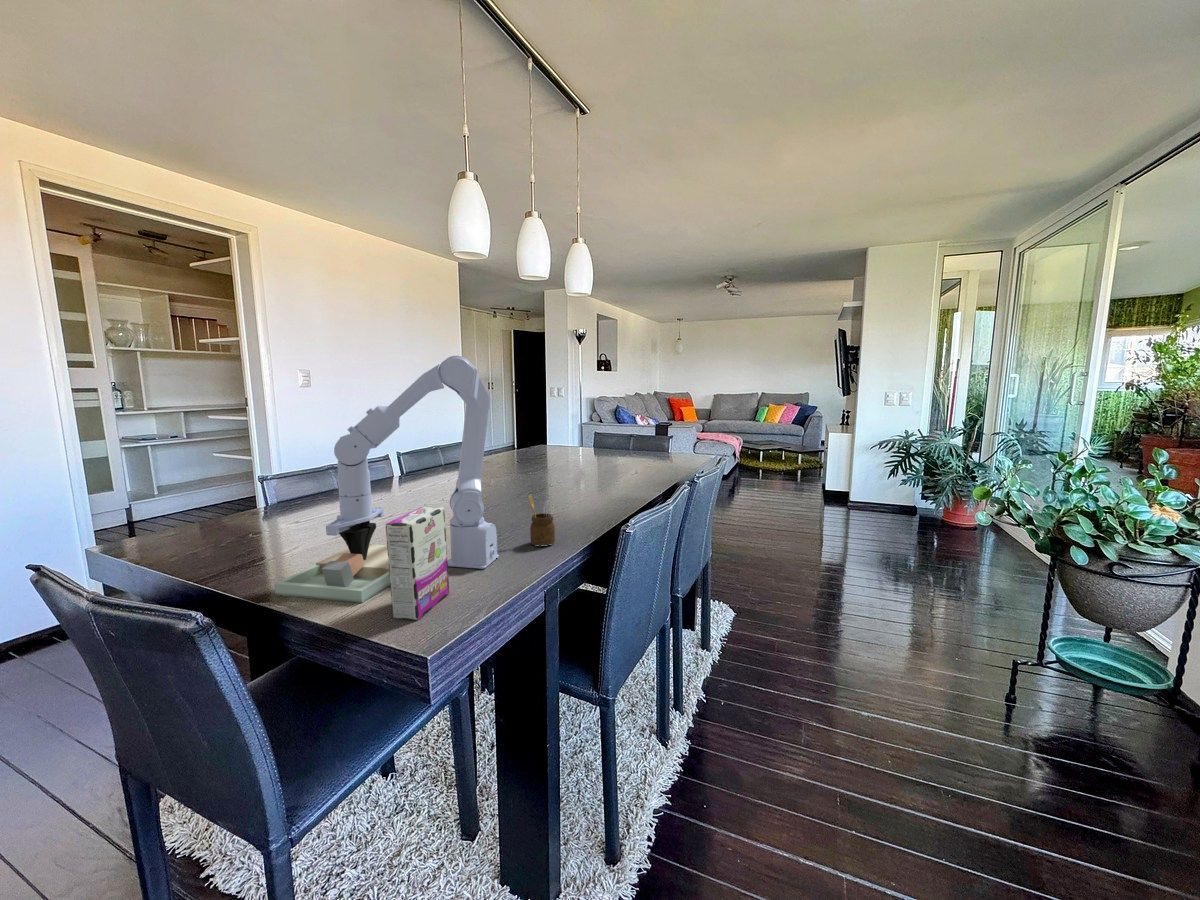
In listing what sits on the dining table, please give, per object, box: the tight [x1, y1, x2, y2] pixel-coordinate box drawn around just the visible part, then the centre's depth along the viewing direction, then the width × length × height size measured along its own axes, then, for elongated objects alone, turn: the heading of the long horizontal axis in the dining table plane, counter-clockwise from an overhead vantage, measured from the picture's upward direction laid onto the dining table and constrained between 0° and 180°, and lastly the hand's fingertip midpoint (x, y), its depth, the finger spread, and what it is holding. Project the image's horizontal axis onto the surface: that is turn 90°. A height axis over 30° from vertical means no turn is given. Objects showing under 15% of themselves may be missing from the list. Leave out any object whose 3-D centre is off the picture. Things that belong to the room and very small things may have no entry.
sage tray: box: [274, 564, 390, 604], centre depth 93 cm, size 18×10×2 cm, turn 79°
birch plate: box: [315, 543, 389, 578], centre depth 105 cm, size 18×13×2 cm
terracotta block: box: [336, 553, 365, 576], centre depth 96 cm, size 4×4×2 cm
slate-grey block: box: [322, 561, 354, 587], centre depth 93 cm, size 4×4×2 cm
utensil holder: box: [527, 494, 556, 546], centre depth 119 cm, size 6×6×12 cm
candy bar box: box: [385, 506, 450, 621], centre depth 85 cm, size 11×5×16 cm, turn 170°
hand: (359, 560), depth 100 cm, fingers closed
